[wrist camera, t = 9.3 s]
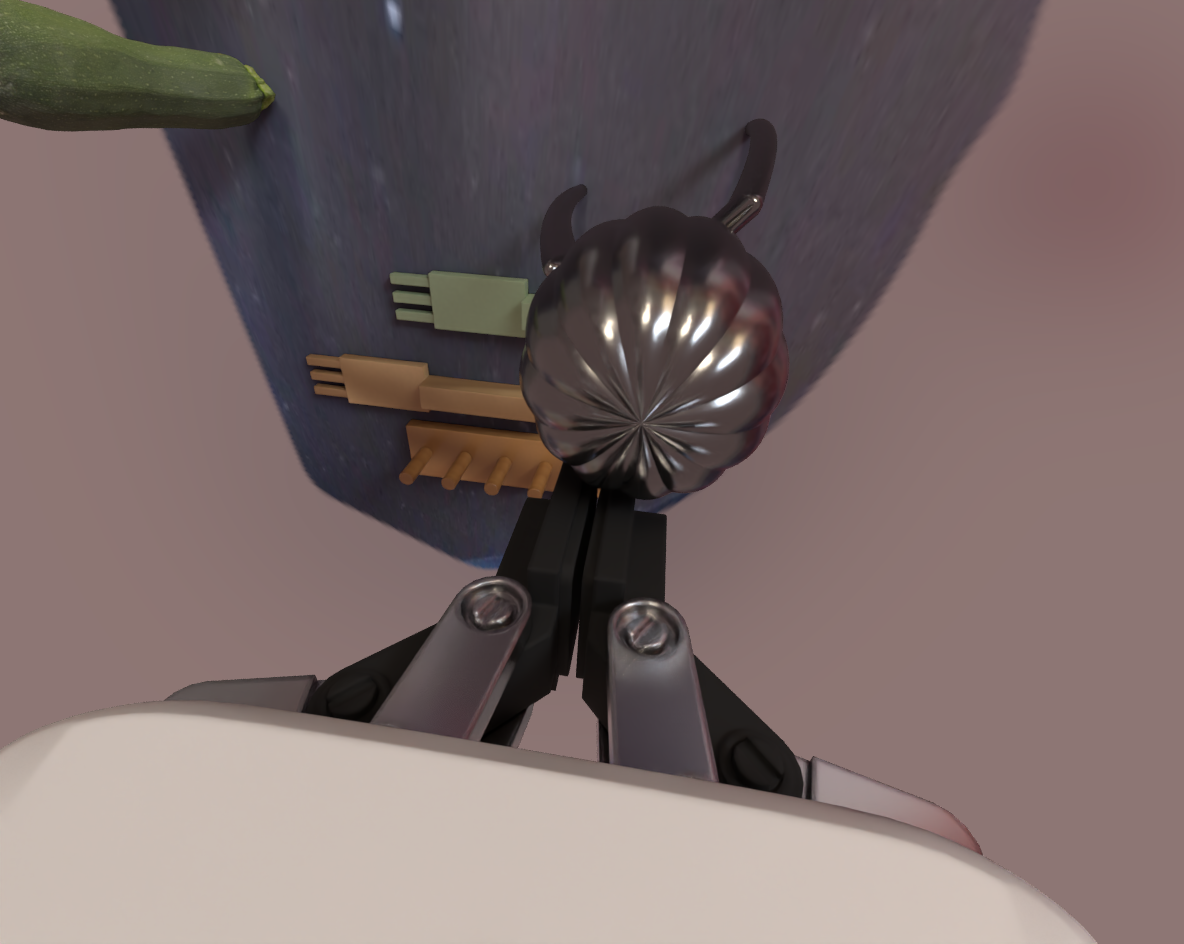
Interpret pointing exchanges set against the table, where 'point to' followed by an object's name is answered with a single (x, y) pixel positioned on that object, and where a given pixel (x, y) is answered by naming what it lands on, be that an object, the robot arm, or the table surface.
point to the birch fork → (415, 388)
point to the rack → (480, 457)
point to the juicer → (656, 341)
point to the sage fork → (466, 302)
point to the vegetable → (115, 78)
